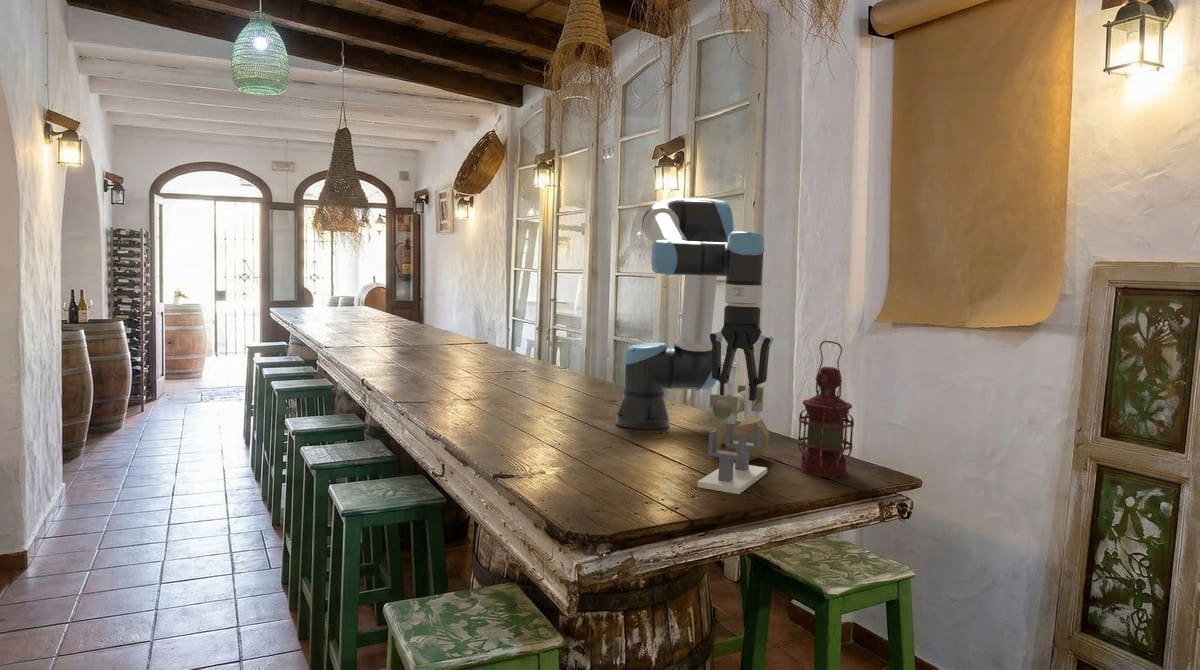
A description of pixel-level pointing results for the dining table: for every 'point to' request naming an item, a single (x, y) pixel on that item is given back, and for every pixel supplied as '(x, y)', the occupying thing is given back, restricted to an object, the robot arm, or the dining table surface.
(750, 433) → the low-poly potato
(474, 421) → the dining table surface
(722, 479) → the bracket
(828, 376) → the lantern
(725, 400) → the column
